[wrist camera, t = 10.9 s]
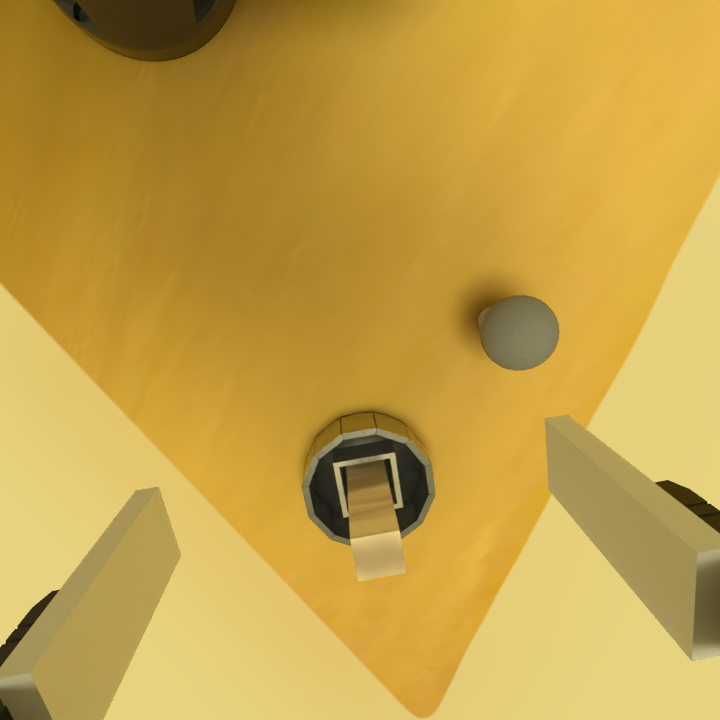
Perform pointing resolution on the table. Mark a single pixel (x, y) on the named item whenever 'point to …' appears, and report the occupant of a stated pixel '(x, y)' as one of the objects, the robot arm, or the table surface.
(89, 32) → the robot arm
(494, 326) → the light bulb
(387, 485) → the tan square post
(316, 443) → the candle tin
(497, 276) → the table surface
